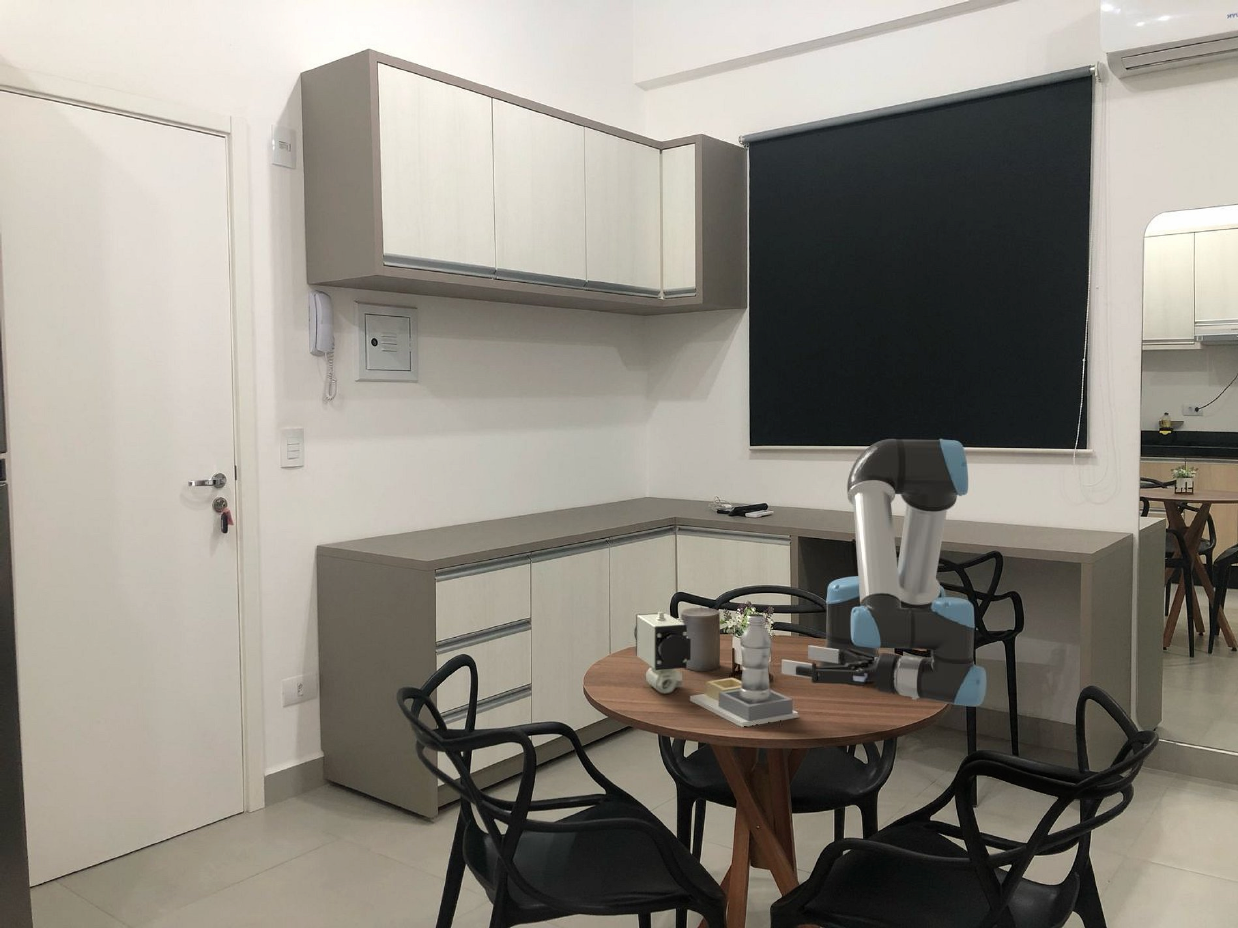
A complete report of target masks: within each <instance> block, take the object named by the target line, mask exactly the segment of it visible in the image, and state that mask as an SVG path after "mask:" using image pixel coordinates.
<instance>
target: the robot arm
mask: <svg viewBox="0 0 1238 928" xmlns="http://www.w3.org/2000/svg"><path fill="white" fill-rule="evenodd" d="M846 487H847V488H846V489H847V499H848V501H849V503H850V504H851V505H852V506H853V516H854V529H855V530H854V531H855V547H856V560H857V561H856V562H857V573H858V574H857V575H858V576H857V575H856V576H855V575H854V576H846V577H841V578H839V579H838V578H837V579H835V580H832V581H831V582H830V583H829V584H828V586H827V591H826V593H827V594H826V595H827V596H826V600H825V603H826V628H825V629H826V632H825V633H826V635H825V637H826V638H825V639H826V640H825V645H824V646H823V647H822V646H816V645H808V646H807V659H808V660H814V661H819V662H818V664H816V662H811V663H810V662H803V661H795V660H790V659H781V674H782V675H787V676H794V677H800V678H805V679H806V678H807V679H811V683H813V684H831V685H832V684H835V685H836V684H837V685H854V686H861V687H862V686H865V684H866V683H867V684H868V683H874V685H875V688H876V691H878V692H879V693H885V694H891V695H897V694H899V695H900V696H904V697H911V699H912V700H913V701H917V699H923V700H929V701H934V702H939V703H945V704H950V705H954V706H963V707H964V706H965V707H974V708H975V707H978V706H980V705H981V704H982V703H983V701H984V700H985V696H986V693H987V682H988V681H987V672H986V670H985V668H984V667H983V666H980V665H977V664H975V659H974V642H975V641H974V639H975V628H976V625H975V611H974V610H975V609H974V605H973V603H971V601H970V600H967V599H964V598H959V597H953V596H947V595H946V592H945V589H944V587H943V586H942V585H940V582H939V580H938V579H937V578H936V577H937V574H938V573H937V572H938V566H939V560H940V555H941V549H942V548H941V547H942V542H943V536H944V530H945V525H946V521H947V520H946V519H947V518H946V517H947V513H948V510H950V509H952V508H953V507H954V506H955V505H956V503H957V500H958V499H957V498H958V497H962V496H965V495H967V494H968V491H969V470H968V462H967V456H966V451H965V448H964V446H963V444H962V443H961V442H960V441H958V440H956V439H955V440H954V439H953V440H950V439H944V438H939V439H895V438H888V439H883V440H880V441H877V442H875V443H873V444H871V445H870V446H868V447H867V448H866V449H864V451H862V453H861V454H859V456H858V457H857V459H856V460H855V461H854V463H853V465H852V467H851V469H850V471H849V475H848V478H847V485H846ZM896 495H900V496H901V499H902V501H903V502H904V503H905V513H904V520H903V524H902V525H903V527H902V533H901V542H900V547H899V548H900V550H899V555H898V559H897V551H896V541H895V539H896V538H895V531H894V530H895V527H894V521H893V520H894V519H893V518H894V517H893V510H892V502H893V501H894V500H895V498H896ZM878 649H908V650H930V658H925V657H917V656H911V655H903V656H901V655H900V654H897V653H896V654H895V653H890V652H889V653H888V652H883V653H882V652H881V654H880V653H879V650H878Z"/></svg>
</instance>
